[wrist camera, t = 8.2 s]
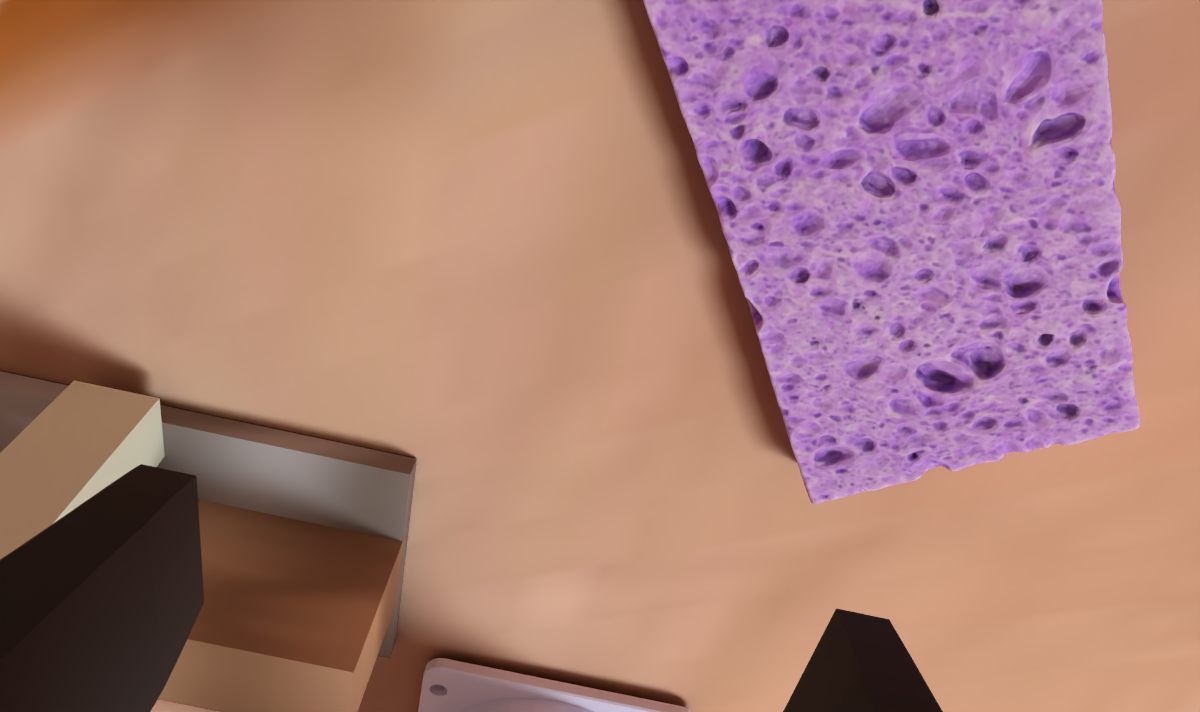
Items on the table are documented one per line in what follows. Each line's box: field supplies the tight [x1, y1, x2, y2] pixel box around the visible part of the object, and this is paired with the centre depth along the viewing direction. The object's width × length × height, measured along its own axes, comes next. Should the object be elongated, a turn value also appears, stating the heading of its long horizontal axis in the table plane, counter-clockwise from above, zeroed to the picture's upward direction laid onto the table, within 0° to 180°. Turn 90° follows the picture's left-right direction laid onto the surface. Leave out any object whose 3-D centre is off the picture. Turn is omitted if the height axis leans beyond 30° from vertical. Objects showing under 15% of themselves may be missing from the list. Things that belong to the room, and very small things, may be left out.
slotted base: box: [0, 371, 417, 712], centre depth 22 cm, size 14×7×5 cm, turn 79°
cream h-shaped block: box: [0, 380, 165, 559], centre depth 20 cm, size 8×2×7 cm, turn 169°
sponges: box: [643, 0, 1140, 504], centre depth 17 cm, size 7×13×2 cm, turn 21°
